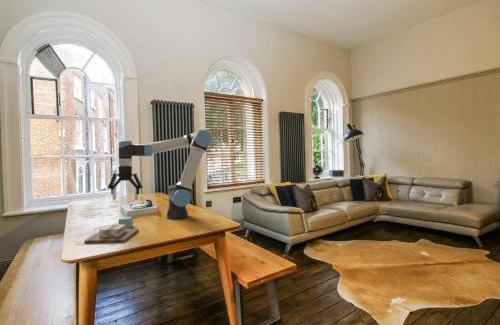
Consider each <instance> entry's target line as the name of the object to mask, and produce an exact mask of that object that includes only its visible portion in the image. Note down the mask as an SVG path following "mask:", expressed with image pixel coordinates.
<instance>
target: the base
mask: <svg viewBox="0 0 500 325" xmlns="http://www.w3.org/2000/svg"><path fill="white" fill-rule="evenodd" d="M138 232H140V230H139V228H129V229H126V224H123V225H119V224H107V225H106V226H104V227H102V228H100V229H99V232H97V233H96V234H93V235H92V236H90V237H88V238H87V239H85V240H84V241H83V242H84V245H85V244H86V245H87V244H120V243H123V244H124V243H126V242H127V241H129V240H130V238H132V237H134V236H135V235H136V234H137V233H138Z"/></svg>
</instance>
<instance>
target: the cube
mask: <svg viewBox="0 0 500 325" xmlns="http://www.w3.org/2000/svg"><path fill="white" fill-rule="evenodd" d="M133 220H134V219H133V216H122V217H120V218H119V219H118V225H123V224H126V229H132V227H133V226H134V225H133V224H134V222H133Z"/></svg>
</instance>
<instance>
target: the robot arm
mask: <svg viewBox="0 0 500 325" xmlns="http://www.w3.org/2000/svg"><path fill="white" fill-rule="evenodd" d="M212 140H213V137H212V134H211V133H210V132H209V131H208V130H205V129H198V130H197V131H194V132H191V133H189V134H185V135H184V136H181V137H176V138H171V139H165V140H161V141H155V142H149V143H144V144H143V143H140V144H139V143H135V144H134V143H133V142H132V140H119V142H118V173H117V172H115V173H113V174H112V178H111V180H110V182H109V184H108V186H107V188H108V189H110V192H111V193H110V194H111V195H112V200H113V201H115V200H117V188H116V187H117V186H118V185H119V184H120V183H121V181H124V182H125V181H129V182H130V184H131V185H132V186H133V187H134V188H135V189H134V200H135V201H137V200H139V196H138V195H140V189H143V185H142V183H141V182H140V179H139V176H138V173H135V172H134V173H133V166H132V165H133V157H152V156H153V154H157V153H163V152H168V151H174V150H178V149H183V148H187V149H190V152H189V155H188V156H187V160H186V163H185V166H184V169H183V172H182V173H181V175H180V176H181V177H180V179H179V181H178V182H177V183H175V185H169V186H168V208H167V212H166V218H167V219H168V220H181V218H182V219H186V218H188V217H189V212H188V209H187V206H188V205H189V204H190V202H191V200H192V193H193V187H192V185H193V183H194V180H195V177H196V175H197V172H198V169H199V167H200V163H201V161H202V159H203V158H202V157H203V154H204V153H206V152H207V150H208V148H209V146H210V145H211V144H212ZM117 177H119V178H117ZM133 178H134V179H133ZM185 217H186V218H185Z"/></svg>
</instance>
